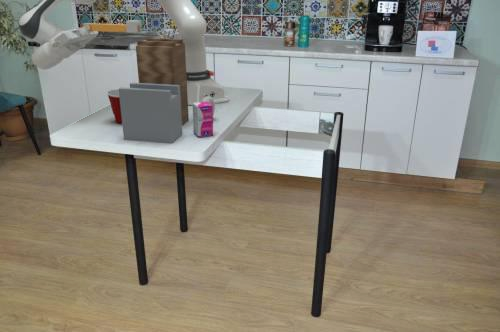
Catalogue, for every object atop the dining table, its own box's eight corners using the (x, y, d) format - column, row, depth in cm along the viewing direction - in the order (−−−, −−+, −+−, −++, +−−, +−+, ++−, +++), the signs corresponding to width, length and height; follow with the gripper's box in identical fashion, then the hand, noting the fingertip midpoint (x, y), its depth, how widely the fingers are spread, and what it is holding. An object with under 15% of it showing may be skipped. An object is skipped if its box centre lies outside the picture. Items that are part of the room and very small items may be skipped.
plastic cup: (131, 126, 181) (128, 95, 177) (105, 125, 183) (101, 94, 178) (142, 118, 191) (139, 88, 187) (116, 117, 193) (113, 87, 188)
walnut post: (142, 126, 181) (135, 41, 169) (155, 118, 191) (149, 37, 179) (177, 129, 177) (172, 43, 166) (188, 120, 188) (184, 38, 176)
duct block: (123, 139, 167) (118, 88, 160) (136, 130, 176) (132, 82, 169) (172, 143, 163) (168, 91, 156) (182, 134, 172) (179, 85, 165)
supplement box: (198, 138, 168) (196, 106, 164) (193, 133, 173) (191, 102, 169) (213, 136, 170) (212, 104, 166) (208, 131, 176) (207, 100, 171)
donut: (206, 125, 182) (205, 99, 178) (198, 124, 183) (196, 99, 179) (216, 118, 191) (215, 93, 187) (208, 117, 192) (207, 93, 188)
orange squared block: (82, 30, 176) (80, 19, 175) (87, 29, 180) (86, 18, 178) (136, 33, 171) (136, 21, 170) (141, 31, 175) (140, 20, 174)
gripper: (44, 39, 172) (71, 20, 167) (76, 33, 190) (101, 15, 185) (54, 55, 173) (81, 36, 168) (85, 47, 192) (110, 30, 186)
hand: (92, 25), depth 177 cm, fingers closed on orange squared block, 2 cm apart
